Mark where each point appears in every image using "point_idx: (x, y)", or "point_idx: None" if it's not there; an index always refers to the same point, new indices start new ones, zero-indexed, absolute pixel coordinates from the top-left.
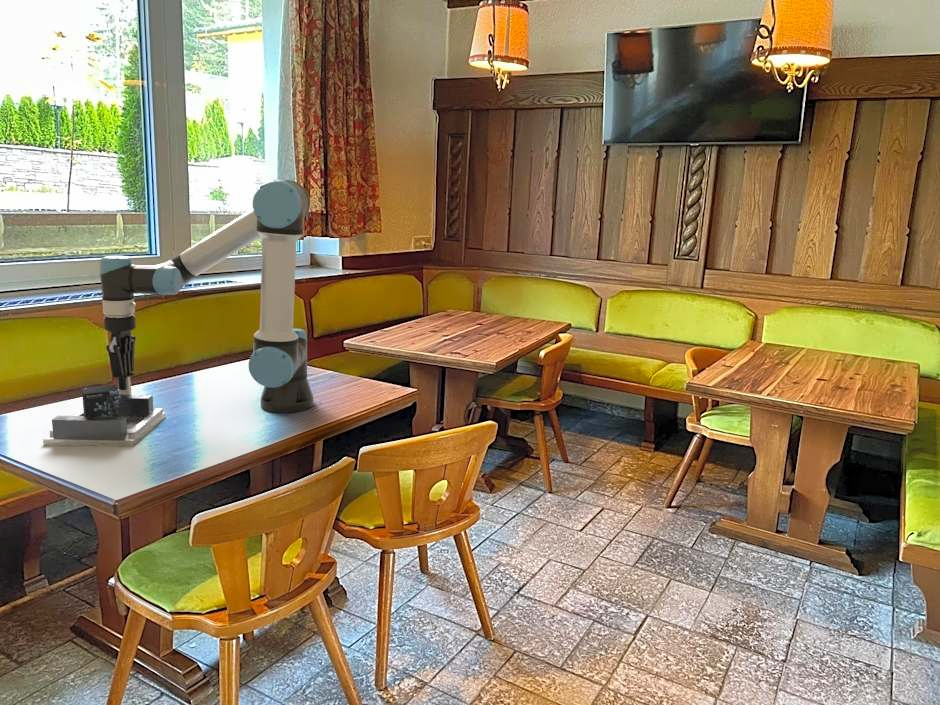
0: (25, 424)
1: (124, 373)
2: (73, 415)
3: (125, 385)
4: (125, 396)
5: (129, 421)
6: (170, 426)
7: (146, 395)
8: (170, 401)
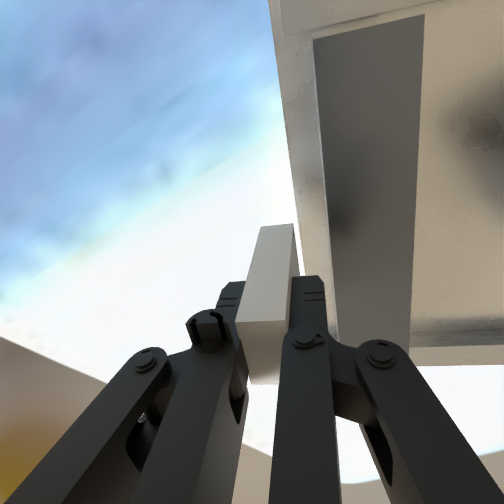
0: None
1: (330, 371)
2: (448, 363)
3: (300, 294)
4: (373, 231)
5: (478, 109)
6: None
7: (327, 92)
8: (39, 127)
